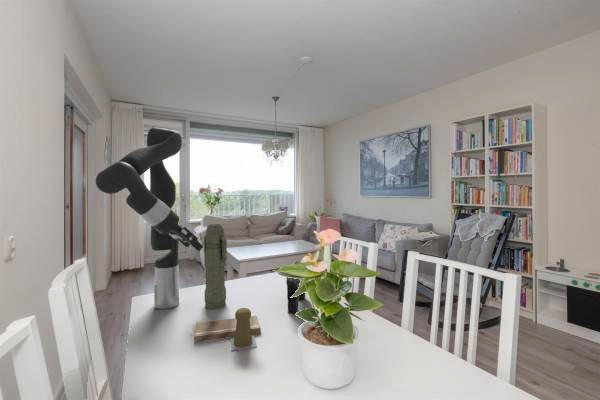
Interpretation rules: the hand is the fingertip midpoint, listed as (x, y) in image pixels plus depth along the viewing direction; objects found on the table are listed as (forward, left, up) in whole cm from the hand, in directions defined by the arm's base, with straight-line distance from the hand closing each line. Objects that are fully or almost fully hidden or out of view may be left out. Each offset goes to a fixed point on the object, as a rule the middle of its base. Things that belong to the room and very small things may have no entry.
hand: (194, 246), depth 100 cm
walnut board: (+11, -1, -31) cm, 33 cm away
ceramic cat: (+40, +14, -31) cm, 53 cm away
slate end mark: (+15, -10, -31) cm, 36 cm away
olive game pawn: (+15, -10, -31) cm, 36 cm away
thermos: (+7, +23, -31) cm, 39 cm away
